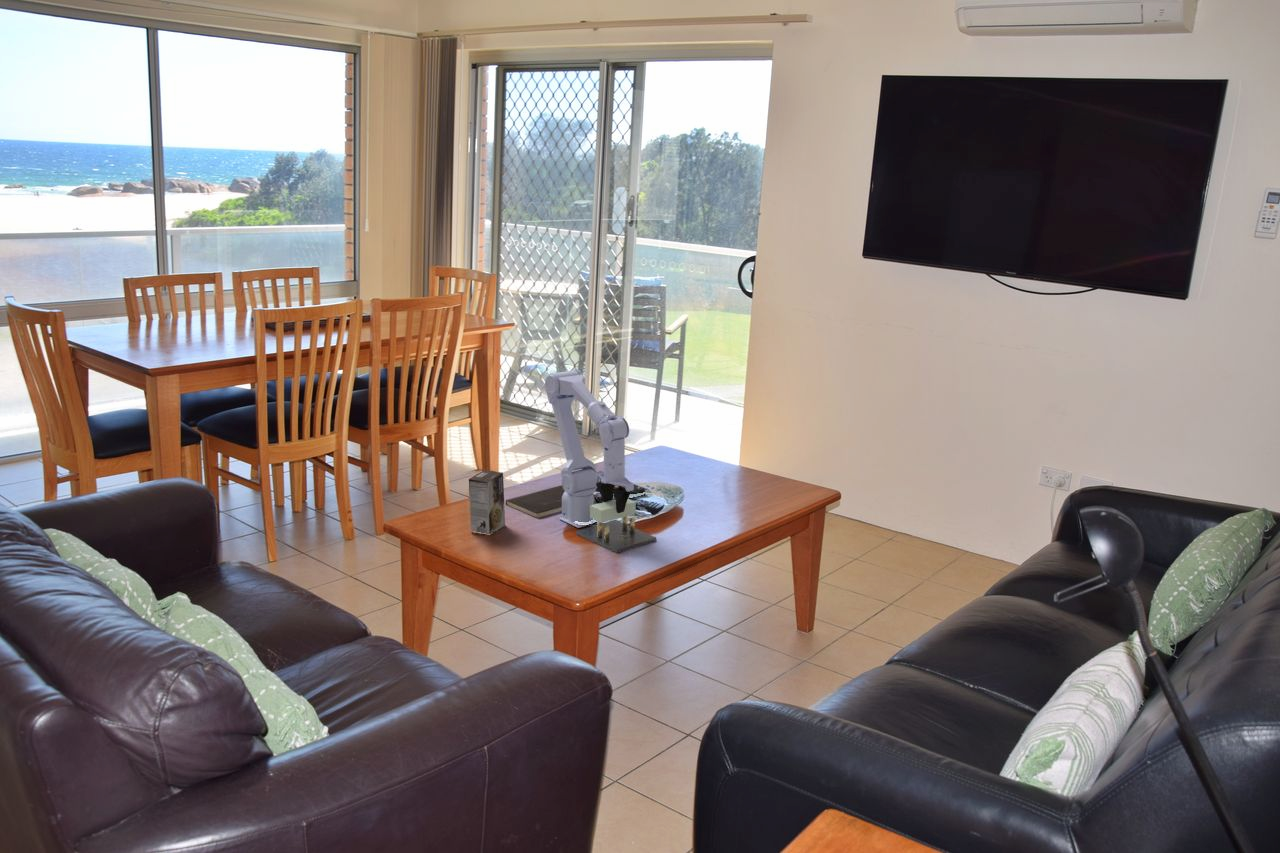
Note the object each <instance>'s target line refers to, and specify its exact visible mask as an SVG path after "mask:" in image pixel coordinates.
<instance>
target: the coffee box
mask: <svg viewBox="0 0 1280 853" xmlns="http://www.w3.org/2000/svg"><path fill="white" fill-rule="evenodd" d="M468 491H469V492H468V494H469V496H468V497H469V513H470V514H469V515H470V532H471V531H476V532H481V533H486V534H491V533H493V532H495V531H496V532H498V531H499V530H500V529H501V528H503V527H505V526H506V517H505V516H506V514H505V492H504V491H505V489H504V472H500V471H495V470H488V469H483V470H481V471H480V472H478V473H476V474H474V475H473V476H471V477H469V478H468ZM498 529H499V530H498ZM496 532H495V533H496ZM493 534H494V533H493Z"/></svg>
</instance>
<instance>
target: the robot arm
mask: <svg viewBox="0 0 1280 853" xmlns="http://www.w3.org/2000/svg"><path fill="white" fill-rule="evenodd" d="M544 388H545V392H546V397H547V398H548V403H549V404H551V407H552V410H553V414H554V418H555V422H556V425H557V429H558V433H559V437H560V440H561V444H562V448H563V452H564V456H565V459H566V463H565V464H564V465H563V467H562V468H561V470H560V474H561V485H562V486H563V489H564V490H565V492H564V494H563V496H562V511H561V517H559V520H561V521H562V522H565V523H567V524H569V525H571V526H573V527H576V528H577V529H578V528H579V529H580V528H581V529H582V528H584V527H586V526H585V525H578V524H575V523H573V522H575V521H578V522H589V521H591V520H593V519H592V518H590V506H591V505H595V504H594V503H595V502H594V495H595V494H594V493H596V492H597V491H596V488H598V489H599V491H600V493H599V494H600V496H601V499H602V503H603V502H607V501H611V500H614V499H613V494H614V497H615V501H616V511H617V513H622V512H624V510H625V506H626V503H627V500H628V497H629V495H630V494H631V492H632V491H633V490H634V484H635V483H633V482H632V481H630V479H628V478H627V477H626V476H625V474H626V473H625V472H626V471H625V468H626V466H625V465H626V464H625V462H626V461H625V459H626V458H625V455H626V452H625V451H626V448H625V445H626V441H625V439H627V438H628V437H629V434H630V427H629V423H628V421H627V420H626V418H624V417H622V416H621V417H620V416H619V415H616V414H614V412H613V411H612V410H611V409H610V408H609V407H608V406H607V404H606V402H604V401H602V400H601V401H600V400H597V399H596V398H595V396H594V395H593V394H592V392H591V391H590V390H589V388H588V386H587V385H586V379H585V376H584V375H583V374H582V372H581V371H580V370H579V369H572V370H567V371H561V372H555V373H553V372H552V373H551V372H550V373H548V374H547V375H546V378H545V382H544ZM575 400H577V401H578V402H579V403H580V404H581V405H583V407H584V408H585V409H586V410H587V411H586V413H587V416H588V418H589V419H590V420H591V421H592V422H593V424H594V425H595V426H596V427H597V428H598V435H599V437H600V439H601V446H602V448H603V470H599V471H598V470H597V469H596V467H595V463H594V461H592V460H590V459H588V458H587V457H585V453H584V450H583V446H582V442H581V438H580V435H579V430H578V428H577V424H576V420H575V416H574V412H573V408H572V404H573V402H574V401H575ZM615 485H616V486H618V488H616V489H614V487H615Z"/></svg>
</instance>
